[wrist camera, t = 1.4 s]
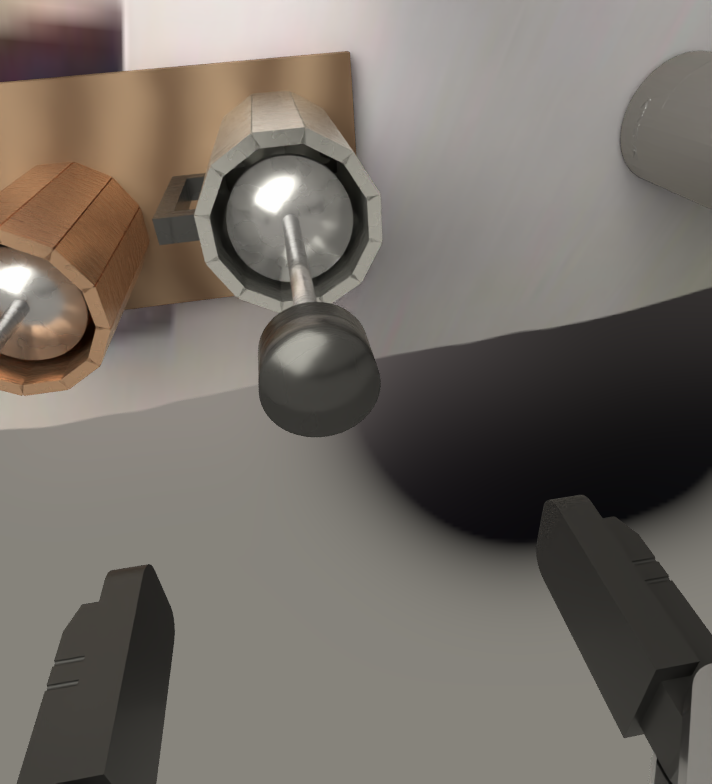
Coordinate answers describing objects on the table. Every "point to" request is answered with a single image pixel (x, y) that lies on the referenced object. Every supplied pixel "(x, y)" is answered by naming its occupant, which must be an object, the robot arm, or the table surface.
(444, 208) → the table surface
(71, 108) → the board
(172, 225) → the steel carafe
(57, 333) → the black knob plunger
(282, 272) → the steel plunger
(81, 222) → the copper carafe
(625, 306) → the table surface
